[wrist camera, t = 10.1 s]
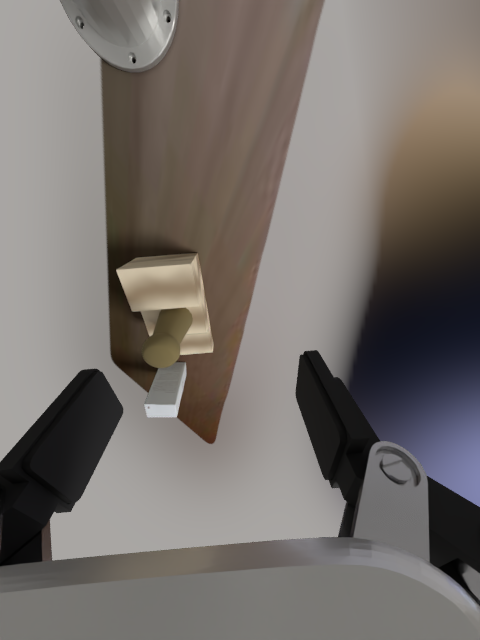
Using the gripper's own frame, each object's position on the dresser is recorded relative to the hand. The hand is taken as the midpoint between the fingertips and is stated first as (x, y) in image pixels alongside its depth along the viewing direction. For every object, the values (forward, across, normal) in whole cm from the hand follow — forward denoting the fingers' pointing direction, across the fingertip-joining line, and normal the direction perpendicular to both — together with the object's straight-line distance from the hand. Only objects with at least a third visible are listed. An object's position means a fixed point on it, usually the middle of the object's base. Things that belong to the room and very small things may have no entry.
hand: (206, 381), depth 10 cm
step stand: (+30, +10, +10) cm, 34 cm away
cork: (+26, +10, +10) cm, 29 cm away
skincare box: (+31, +15, +27) cm, 43 cm away
